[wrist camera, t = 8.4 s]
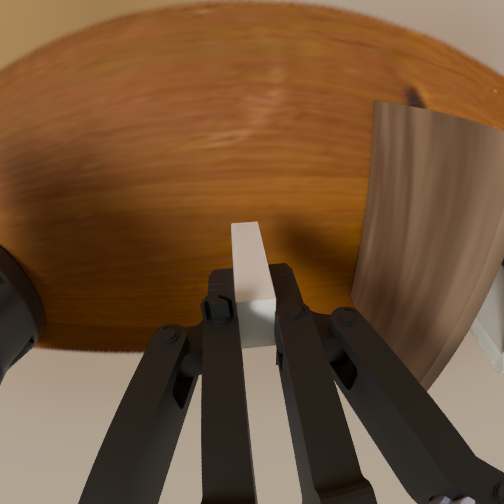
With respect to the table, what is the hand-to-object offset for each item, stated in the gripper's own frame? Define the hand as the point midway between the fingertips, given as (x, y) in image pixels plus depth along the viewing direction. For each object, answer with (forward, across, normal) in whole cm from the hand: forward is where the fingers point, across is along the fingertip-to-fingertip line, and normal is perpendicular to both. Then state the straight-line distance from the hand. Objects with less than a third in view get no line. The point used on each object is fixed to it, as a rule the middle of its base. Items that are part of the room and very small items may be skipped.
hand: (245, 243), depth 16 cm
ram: (+4, +20, 0) cm, 20 cm away
